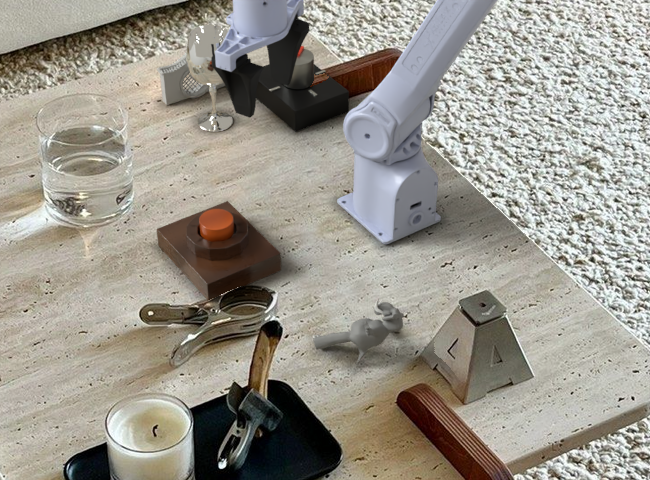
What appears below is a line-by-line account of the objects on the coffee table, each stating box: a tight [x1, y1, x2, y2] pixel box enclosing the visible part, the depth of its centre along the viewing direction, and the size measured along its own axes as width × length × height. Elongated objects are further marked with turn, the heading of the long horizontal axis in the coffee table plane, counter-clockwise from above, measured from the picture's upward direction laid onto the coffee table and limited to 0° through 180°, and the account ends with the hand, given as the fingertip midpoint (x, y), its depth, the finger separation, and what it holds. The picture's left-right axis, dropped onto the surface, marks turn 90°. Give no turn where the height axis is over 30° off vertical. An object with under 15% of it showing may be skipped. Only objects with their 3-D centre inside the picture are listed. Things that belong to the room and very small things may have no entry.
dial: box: [285, 45, 315, 89], centre depth 147 cm, size 4×4×4 cm
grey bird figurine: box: [312, 298, 405, 366], centre depth 116 cm, size 10×6×9 cm
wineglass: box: [186, 24, 234, 133], centre depth 143 cm, size 6×6×12 cm
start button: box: [199, 209, 234, 242], centre depth 126 cm, size 4×4×2 cm
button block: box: [156, 200, 282, 301], centre depth 127 cm, size 11×9×4 cm
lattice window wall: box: [156, 51, 226, 106], centre depth 150 cm, size 12×2×6 cm, turn 122°
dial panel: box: [256, 63, 350, 133], centre depth 149 cm, size 11×8×3 cm
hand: (263, 97), depth 134 cm, fingers open, 7 cm apart
